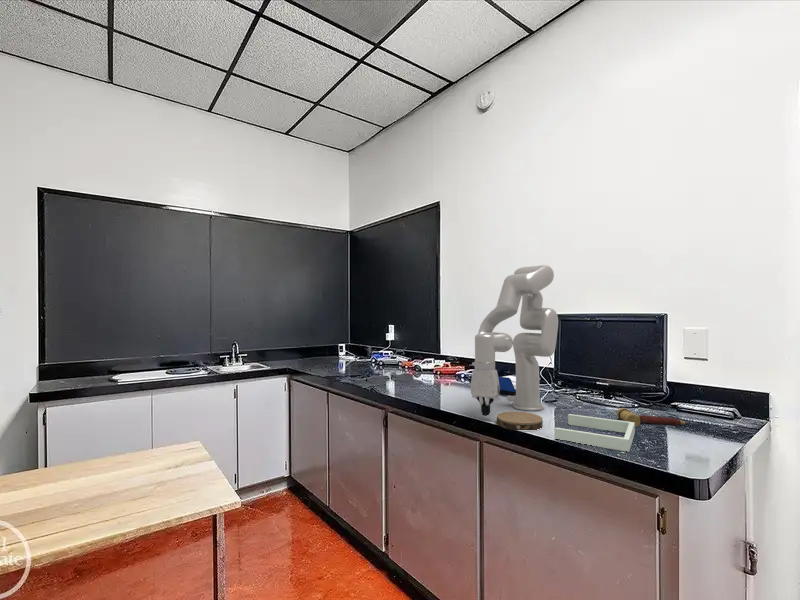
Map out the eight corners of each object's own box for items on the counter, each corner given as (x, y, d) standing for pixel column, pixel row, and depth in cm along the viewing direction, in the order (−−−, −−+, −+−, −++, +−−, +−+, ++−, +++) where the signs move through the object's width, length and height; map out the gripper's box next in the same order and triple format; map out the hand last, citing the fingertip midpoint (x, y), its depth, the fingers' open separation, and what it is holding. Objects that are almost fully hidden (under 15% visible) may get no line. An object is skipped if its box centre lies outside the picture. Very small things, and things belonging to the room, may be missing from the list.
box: (554, 439, 127) (554, 428, 127) (569, 423, 144) (568, 413, 145) (629, 452, 115) (628, 439, 115) (634, 433, 133) (634, 422, 133)
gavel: (678, 413, 147) (692, 420, 137) (677, 425, 147) (692, 433, 137) (616, 407, 151) (626, 413, 141) (616, 419, 151) (626, 426, 141)
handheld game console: (525, 393, 199) (525, 374, 199) (510, 397, 190) (510, 378, 190) (498, 389, 211) (498, 371, 211) (483, 392, 202) (483, 374, 202)
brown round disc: (550, 425, 144) (550, 416, 144) (529, 435, 133) (529, 426, 133) (511, 417, 155) (510, 409, 155) (488, 425, 144) (488, 417, 144)
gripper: (462, 366, 153) (463, 414, 152) (500, 369, 144) (501, 420, 144) (471, 363, 159) (471, 410, 159) (507, 366, 151) (508, 415, 150)
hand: (485, 414), depth 151 cm, fingers closed
